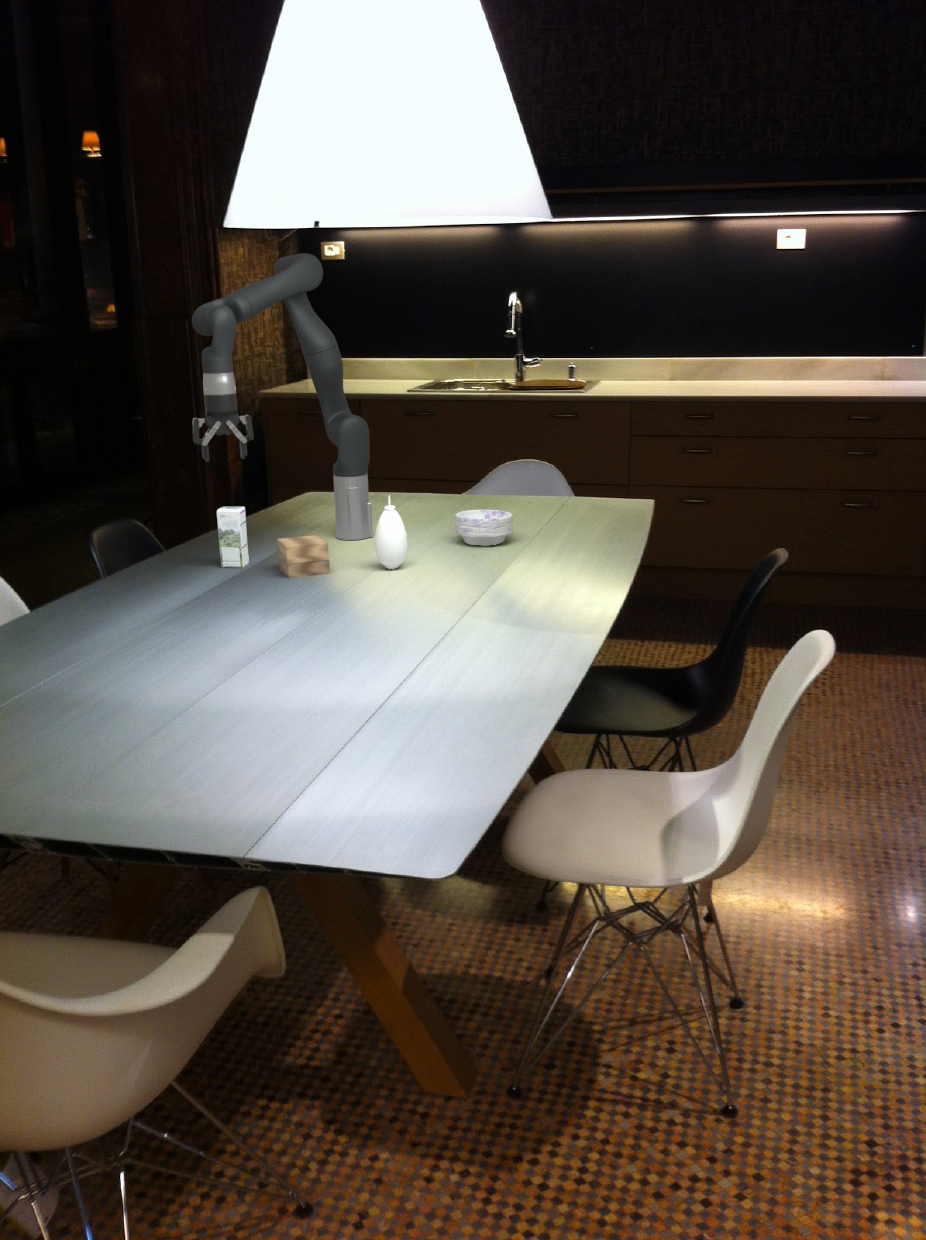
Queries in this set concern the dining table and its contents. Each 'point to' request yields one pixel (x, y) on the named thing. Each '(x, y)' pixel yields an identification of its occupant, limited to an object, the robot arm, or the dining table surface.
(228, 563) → the syrup box
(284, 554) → the tower top block
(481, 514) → the paper bowls
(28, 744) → the dining table surface
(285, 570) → the tower base block
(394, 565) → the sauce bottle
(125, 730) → the dining table surface
